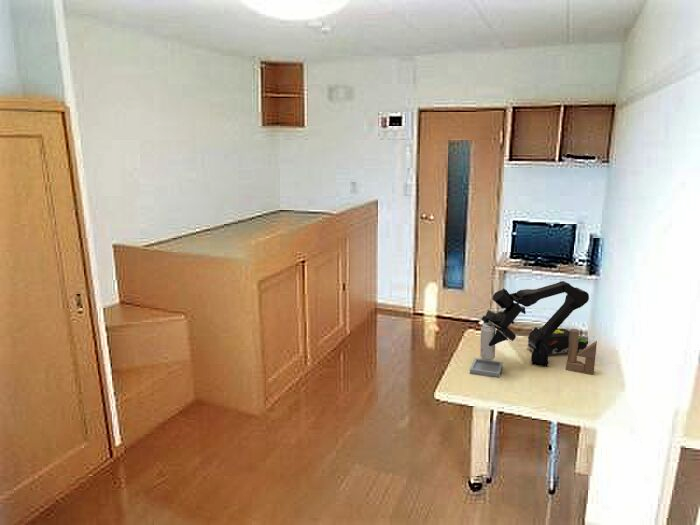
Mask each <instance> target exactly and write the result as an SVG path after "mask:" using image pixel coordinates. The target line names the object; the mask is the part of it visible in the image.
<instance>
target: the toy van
mask: <svg viewBox="0 0 700 525" xmlns="http://www.w3.org/2000/svg"><path fill="white" fill-rule="evenodd" d="M532 331H533V330H530V333H531V332H532ZM569 336H570V330H568V329H566V328H563V327H561V328H557V329H556V330H555V332H554V333H553V334H552V335H551V339H550V342H549V344H548V345H549V346H550V347H551V348H552V349H553V350H552V352H551V354H549V355H548V358H549V357H552V354H562V353H563V354H564V353H568V348H569ZM527 342H528V344H526V346H527V348H529V350H531V352H532V351H533V350H534V348H533V347H532V346H531V344H530V343H529V341H528V340H527ZM587 346H588V342H587V341H586V340H585V339H583V338H582V337H581V336H579V340H578V350H577V353H578V352H579V351H581V350H583V349H584V348H586V347H587Z"/></svg>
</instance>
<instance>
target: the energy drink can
mask: <svg viewBox="0 0 700 525" xmlns="http://www.w3.org/2000/svg"><path fill="white" fill-rule="evenodd" d="M496 330H497V329H496V328H495V327H494V324H491V323H484V322H483V323H482V325H481V327H480V351H479V352H480V353H479V354H480V357H481V359H484V360H492V361H494V358H495V357H496V344H495V345H492V346H489V343H490V341H491V340H492V339H493V337H494V336H495V335H496Z"/></svg>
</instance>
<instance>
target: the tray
mask: <svg viewBox="0 0 700 525" xmlns="http://www.w3.org/2000/svg"><path fill="white" fill-rule="evenodd" d="M503 363H504V362H503V361H497V360H484V359H482V358H477V357H475V358H474V360H473V362H472V364H471V366H470V369H469V374H470V375H477V376H484V377H489V378H496V379H500V377H501V376H500V375H501V373H502V369H503Z"/></svg>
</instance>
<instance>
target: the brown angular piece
mask: <svg viewBox="0 0 700 525" xmlns="http://www.w3.org/2000/svg"><path fill="white" fill-rule="evenodd" d="M569 331H570V336H569V348H568V352H567V360H566V362H565V370H566V371H573V372H577V373H583V374H587V375H594V373H595V366H596V355H597V345H598V340H596V341H594V342H592V343H591V344H589V345H587V347H586V348H584V349H583V350H581V351H579V352H578V353H577V350H578V340H579V337H580V329H578V328H570V329H569ZM578 357H581V358H584V359H585V360H584V362H582V361H580V360H577V358H578Z"/></svg>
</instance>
